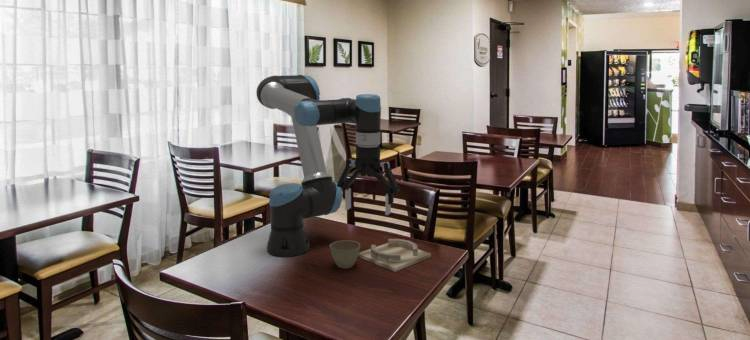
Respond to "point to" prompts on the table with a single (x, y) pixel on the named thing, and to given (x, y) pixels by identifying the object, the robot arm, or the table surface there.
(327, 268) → the table surface
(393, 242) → the holder
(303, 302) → the table surface
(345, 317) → the table surface
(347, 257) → the flower pot
